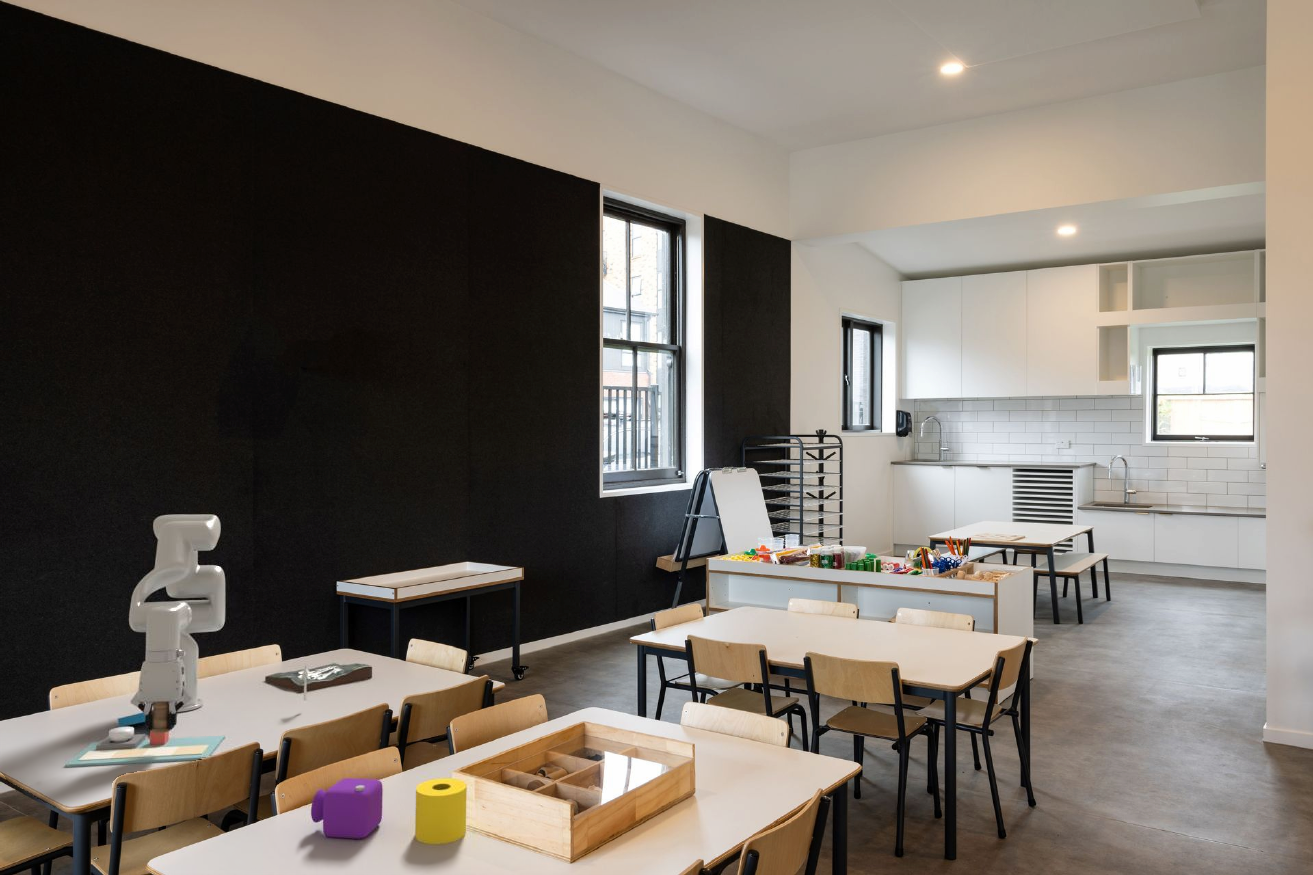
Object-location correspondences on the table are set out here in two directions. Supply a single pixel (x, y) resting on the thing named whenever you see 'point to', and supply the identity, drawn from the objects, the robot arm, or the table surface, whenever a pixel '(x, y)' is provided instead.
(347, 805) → the toy camera
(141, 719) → the lever
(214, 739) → the board
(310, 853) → the table surface
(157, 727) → the pawn
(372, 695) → the table surface
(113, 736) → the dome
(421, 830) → the yellow toilet paper roll
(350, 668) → the relief map
